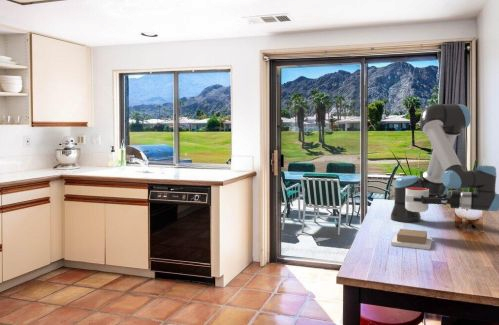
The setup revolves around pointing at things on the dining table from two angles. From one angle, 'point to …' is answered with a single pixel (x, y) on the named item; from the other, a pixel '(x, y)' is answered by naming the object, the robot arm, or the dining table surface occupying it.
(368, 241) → the dining table surface
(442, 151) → the robot arm
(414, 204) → the cup
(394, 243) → the plinth
